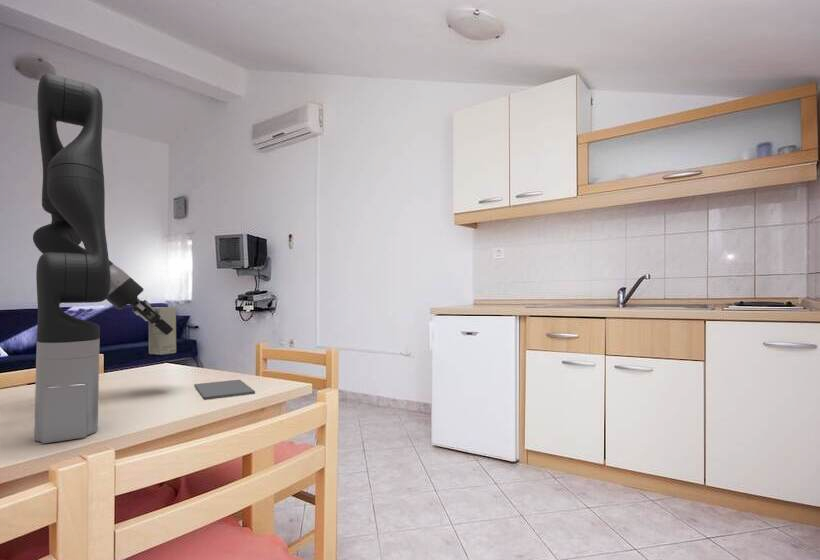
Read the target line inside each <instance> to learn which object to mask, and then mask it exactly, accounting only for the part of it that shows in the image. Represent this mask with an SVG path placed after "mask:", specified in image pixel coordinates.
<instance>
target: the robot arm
mask: <svg viewBox="0 0 820 560" xmlns="http://www.w3.org/2000/svg"><path fill="white" fill-rule="evenodd" d="M38 81H39V82H38V86H37V118H38V132H39V145H40V153H41V154H40V155H41V163H42V187H41V188H42V189H41V190H42V191H41V206H42V209H43V210H44V211H45V212H47V213H48V214H50V215H51V222H50V223H48V224H46V225H43V226H40V227H39V228H37V229H35V231H34V232H33V235H32V241H33V243H34V246H35V247H36V248H37V249H38V250H39V252H41V254H40V256H39V258H38V260H37V264H36V274H35V275H36V278H35V279H36V299H37V328H36V329H37V330H36V351H35V352H36V354H35V357H36V358H35V390H34V391H35V392H34V393H35V394H34V434H33V435H34V436H33V437H34V438H33V440H34V441H36V442H41V444H42V445H43V444H49V443H55V442H56V443H57V442H62V441H69V440H75V439H76V440H78V439H85V438H87V437H88V436H89V435H92V434H94V433H96V432H97V431H98V430H99V396H100V395H99V393H100V392H99V391H100V390H99V389H100V388H99V385H100V383H99V381H100V376H99V375H100V346H101V344H100V342H101V341H100V340H101V339H100V338H101V327H100V325H99V324H98V323H96V322H94V321H89V320H84V319H81V318H78V317H76V316H73V315H70V314H69V313H66V312H65V311H64V310H63V309H62V308H61V307H60V305H61V304H81V303H82V304H84V303H85V304H86V303H101V302H105V301H108V303H110V304H111V305H112V306H113V307H114V308H116V309H117V310H122V309H123V308H124V307H126V306H127V305H130V306H131V307H132V308H133V309H132V310H131V311H132V312H133V313H134V314H135V315H136V316H139V317H140V318H142V319H143V320H144V321H145V322H148V323H149V321H150V323H152V325H154V326H156V327H157V328H159V329H160V330H161V331H162V332H163V333H164V334H166V335H168V334H169V333H170V332H171V331H172V330H173V328H172V327H171V326H170V325H168V324H167V323H166V322H165V321H164V320H163V319H162V317H161V316H160V315H159V314H157V311H156V310H155V309H154V308H155V307H152V305H151V303H150V302H148V301H147V300H146V299H144V300H143V301H142V300H141V299H139V297H138V296H139V295H140V294H141V293H142V292H144V288H143V287H142V286H141V285H140V284H139V283H138V282H136V280H134V278H132V277H131V276H130V275H128V274H127V272H125V271H124V270H123V269H121V268H120V267H119V266H117V265H116V264H114V263H113V262H112V261H111V260H110V259H109V252H108V241H107V237H106V236H107V234H106V220H105V219H106V216H105V215H106V214H105V212H106V211H105V207H106V205H105V201H106V199H105V198H106V195H105V193H106V192H105V191H106V190H105V175H104V164H103V152H102V151H103V149H102V142H103V141H102V140H103V139H102V138H103V137H102V135H103V134H102V133H103V112H104V111H103V108H104V107H103V104H104V103H103V97H102V93H101V91H100V90H99V88H98V87H96V86H94V85H92V84H89V83H87V82H83V81H80V80H75V79H73V78H68V77H64V76H60V75H57V74H56V75H55V74H52V73H43V75H42V76H41V77H40V78H39V80H38ZM57 122H61V123H65V124H70V125H75V126H79V127H82V128H81V131H80V132H79V134H78V135H77V136H76V137H75V138H74V139H73V140H72V141H71V142H69V143H68V144H67V145H66V146H63V143H62V142H61V139H60V136H59V133H58V127H57V126H58V125H57ZM81 243H82V244H83V246H84V247H82V246H81V245H80V244H81ZM154 315H155V316H154ZM153 316H154V317H153ZM152 317H153V318H152ZM151 318H152V319H151ZM161 319H162V320H161Z"/></svg>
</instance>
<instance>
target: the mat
mask: <svg viewBox="0 0 820 560" xmlns="http://www.w3.org/2000/svg"><path fill="white" fill-rule="evenodd" d="M193 385H194V388H195V389H196V390H197V392H198V394H199V395H200V396H201V397H202V399H203V400H204V401H205V400H212V399H213V400H214V399H222V398H230V397H231V398H232V397H236V396H237V397H238V396H245V395H255V394H256V391H255V390H254V389H253V388H252V387H250V386H249V385H248V384H246V383H245V382H243V380H241V379H231V380H224V381H223V380H222V381H214V382H202V383H195V384H193Z"/></svg>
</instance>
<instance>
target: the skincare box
mask: <svg viewBox="0 0 820 560" xmlns="http://www.w3.org/2000/svg"><path fill="white" fill-rule="evenodd" d="M153 308H154V309H155V310H156V311H157V314H159V315H160V316H161V317H162V319H163V320H164V321H165V322H166V323H167V324H168V325H170V326H171V327H172V328H173V330H172V331H171V332H170V333H169V334H168V335H166V334H164V333H163V332H162V331H161V330H160V329H159V328H157V327H156V326H154V325H152V323H150V321H149V322H148V354H150V355H161V356H162V355H163V356H164V355H172V354H176V353H177V306H165V307H164V306H163V307H162V306H161V307H156V306H155V307H153ZM154 316H155V315H154ZM154 316H153V317H154ZM153 317H152V318H153ZM152 318H151V319H152ZM162 319H161V320H162Z"/></svg>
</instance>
